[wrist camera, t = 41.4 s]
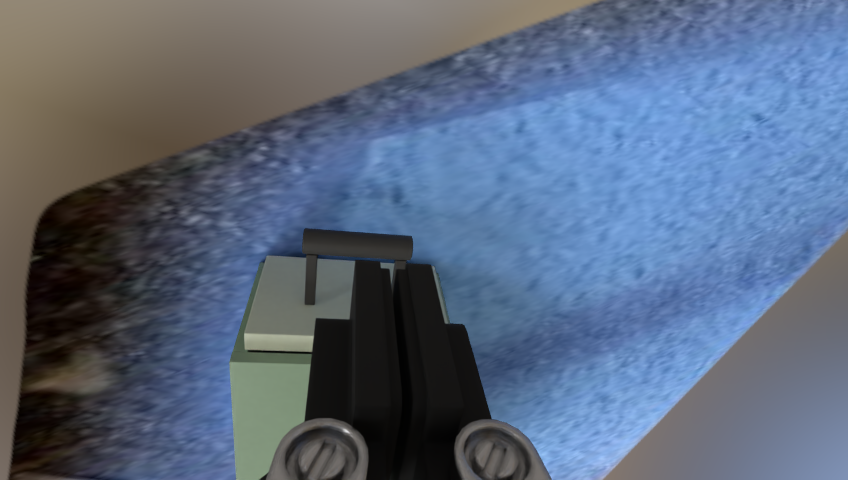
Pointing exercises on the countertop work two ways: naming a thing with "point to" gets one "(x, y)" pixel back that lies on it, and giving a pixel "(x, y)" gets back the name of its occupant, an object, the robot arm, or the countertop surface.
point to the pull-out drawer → (316, 287)
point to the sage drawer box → (266, 398)
